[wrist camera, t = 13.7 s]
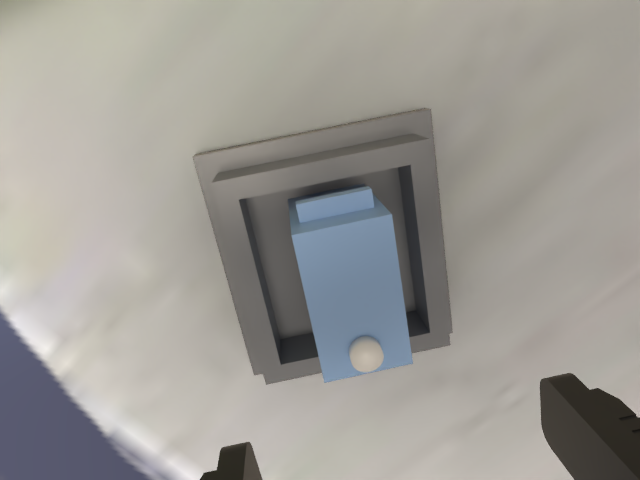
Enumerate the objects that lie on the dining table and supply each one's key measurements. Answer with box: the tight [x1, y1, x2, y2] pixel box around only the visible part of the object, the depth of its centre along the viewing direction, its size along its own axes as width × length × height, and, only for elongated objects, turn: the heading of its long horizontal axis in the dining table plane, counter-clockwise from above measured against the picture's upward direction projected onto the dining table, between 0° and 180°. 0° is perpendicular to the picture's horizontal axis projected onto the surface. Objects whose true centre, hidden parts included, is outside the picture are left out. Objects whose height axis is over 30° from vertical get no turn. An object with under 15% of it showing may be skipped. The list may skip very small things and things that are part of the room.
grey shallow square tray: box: [193, 108, 453, 385], centre depth 23 cm, size 12×13×4 cm
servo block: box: [288, 183, 413, 383], centre depth 21 cm, size 4×9×7 cm, turn 11°
